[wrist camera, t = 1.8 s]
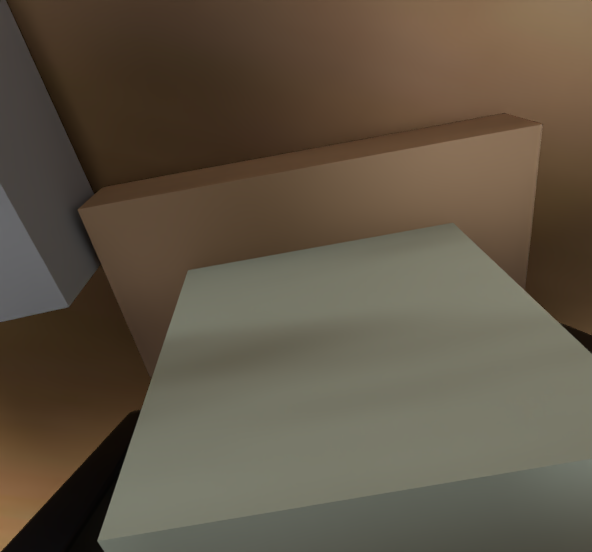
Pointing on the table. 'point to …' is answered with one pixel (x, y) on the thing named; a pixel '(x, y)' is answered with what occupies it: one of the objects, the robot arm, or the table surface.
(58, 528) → the robot arm
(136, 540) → the cube on wooden base
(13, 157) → the dock
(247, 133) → the table surface
